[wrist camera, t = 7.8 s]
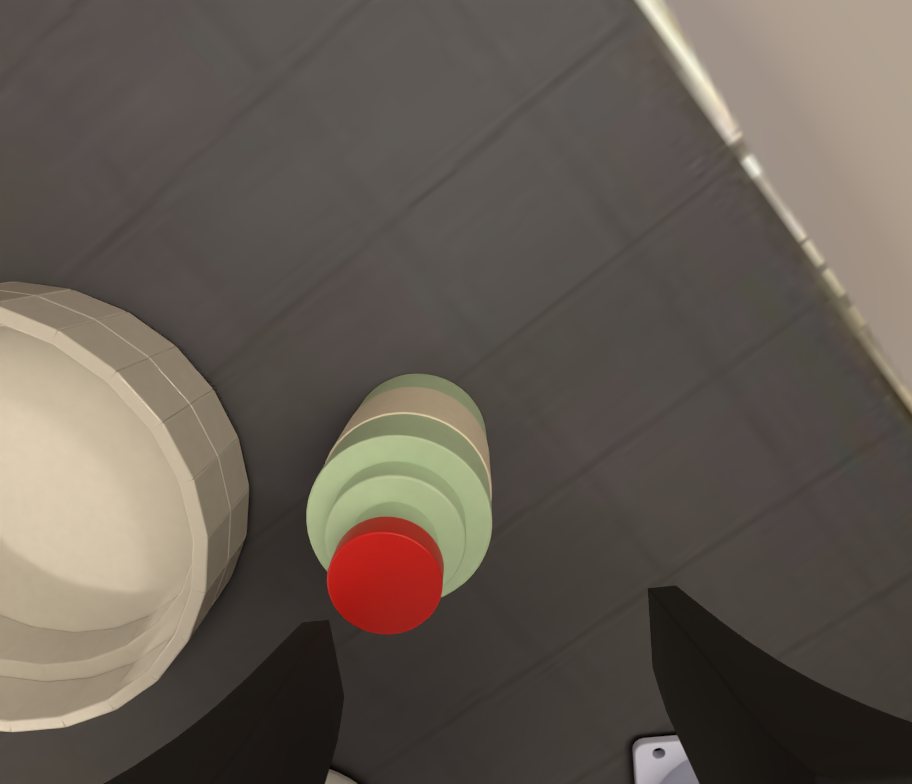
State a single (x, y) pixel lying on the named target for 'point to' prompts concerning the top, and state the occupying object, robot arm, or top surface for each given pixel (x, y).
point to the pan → (104, 505)
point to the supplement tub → (338, 778)
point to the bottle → (403, 503)
